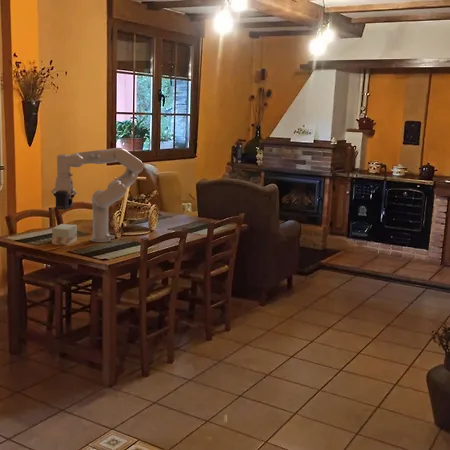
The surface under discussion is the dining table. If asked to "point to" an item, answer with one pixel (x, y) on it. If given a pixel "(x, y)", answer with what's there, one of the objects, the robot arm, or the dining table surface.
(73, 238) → the tower base
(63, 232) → the tower top
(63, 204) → the small box
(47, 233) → the dining table surface
